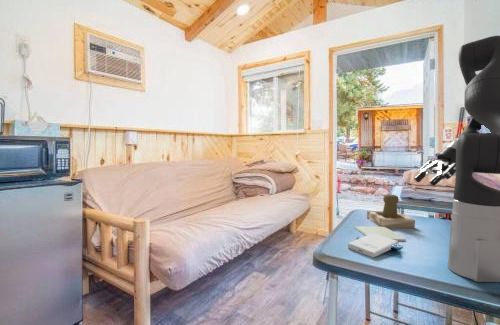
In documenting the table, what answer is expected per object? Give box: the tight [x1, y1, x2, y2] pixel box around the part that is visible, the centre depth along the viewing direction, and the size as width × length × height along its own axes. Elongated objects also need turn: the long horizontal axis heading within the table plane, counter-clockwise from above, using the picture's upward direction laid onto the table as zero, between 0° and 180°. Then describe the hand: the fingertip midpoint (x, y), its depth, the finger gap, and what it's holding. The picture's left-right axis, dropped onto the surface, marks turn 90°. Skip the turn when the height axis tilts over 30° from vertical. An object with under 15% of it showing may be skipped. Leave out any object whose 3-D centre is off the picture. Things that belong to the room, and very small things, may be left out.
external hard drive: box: [347, 233, 400, 259], centre depth 76 cm, size 2×8×12 cm
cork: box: [382, 193, 400, 218], centre depth 102 cm, size 6×6×11 cm
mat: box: [354, 225, 407, 242], centre depth 89 cm, size 12×11×1 cm
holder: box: [366, 210, 416, 229], centre depth 102 cm, size 12×12×3 cm
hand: (423, 182), depth 101 cm, fingers open, 8 cm apart
